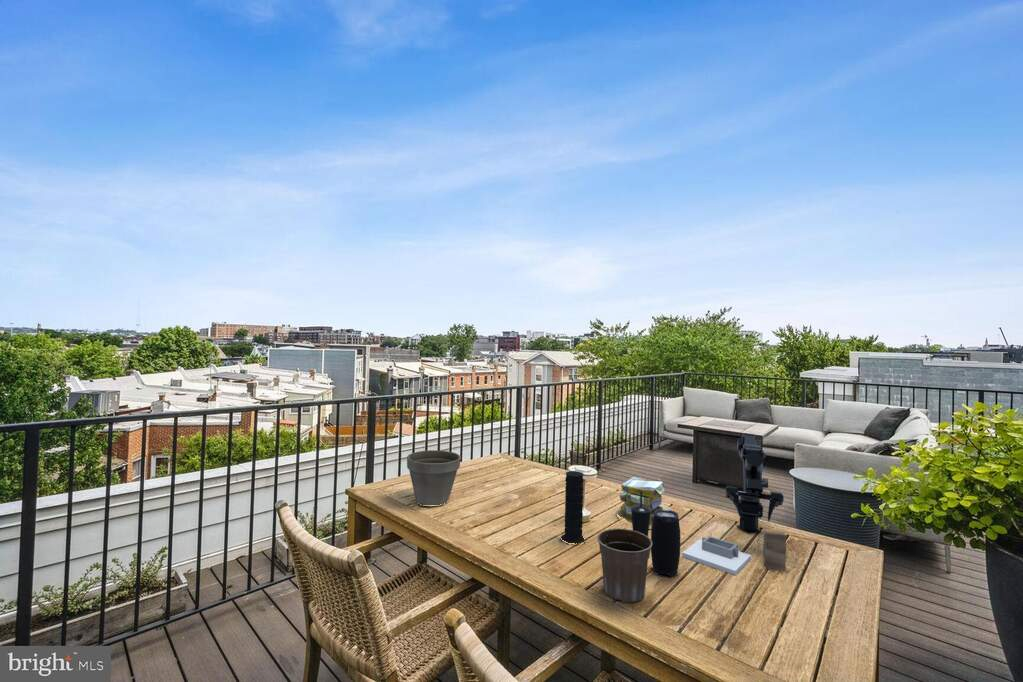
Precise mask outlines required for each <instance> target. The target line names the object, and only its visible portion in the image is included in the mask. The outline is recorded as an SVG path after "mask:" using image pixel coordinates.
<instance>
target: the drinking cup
mask: <svg viewBox="0 0 1023 682" xmlns="http://www.w3.org/2000/svg"><path fill="white" fill-rule="evenodd" d="M651 511H652V510H651V508H649V507H647V506H645V505H642V492H640V504H638V505H633V506H631V513H632V526H631V527H632V530H633V531H637V532H640V533H642V534H644V535H646V536H647V537H649V530H650V529H649V522H650V513H651Z"/></svg>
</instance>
